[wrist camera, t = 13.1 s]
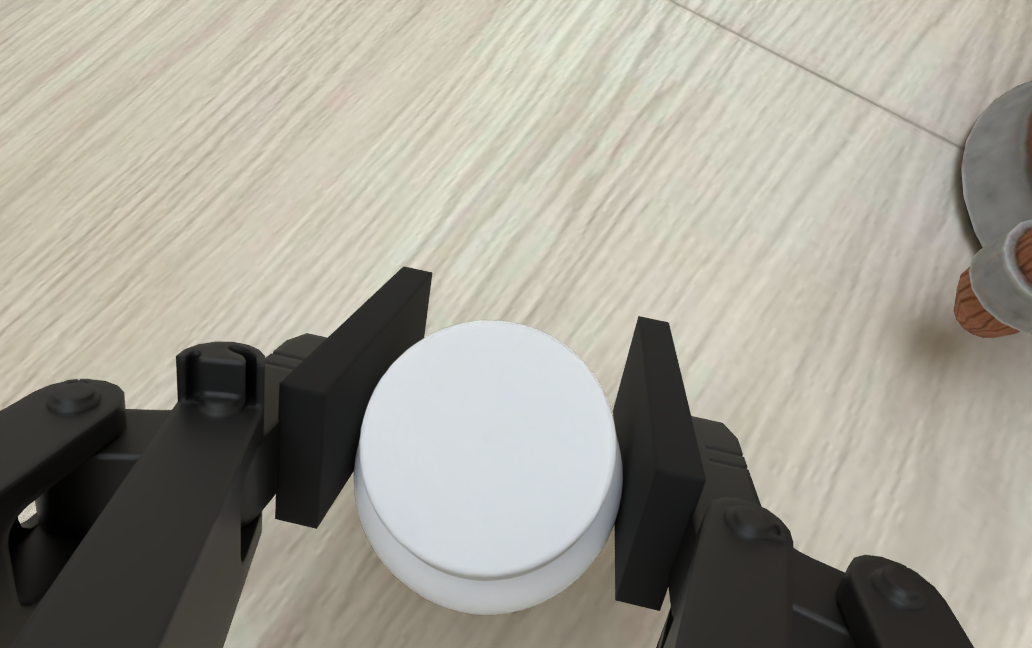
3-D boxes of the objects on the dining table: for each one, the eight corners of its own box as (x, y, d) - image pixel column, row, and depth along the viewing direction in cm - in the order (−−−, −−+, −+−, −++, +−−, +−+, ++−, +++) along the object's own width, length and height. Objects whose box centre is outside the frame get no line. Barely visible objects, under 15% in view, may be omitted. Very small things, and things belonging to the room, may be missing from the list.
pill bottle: (359, 512, 18) (235, 449, 9) (484, 378, 19) (471, 224, 11) (501, 651, 16) (502, 716, 8) (622, 495, 18) (723, 419, 10)
